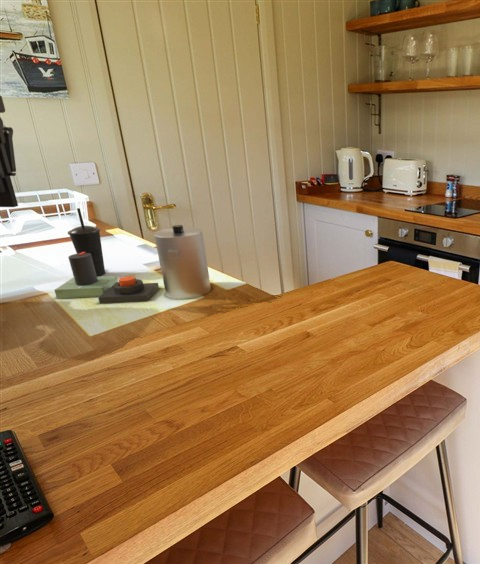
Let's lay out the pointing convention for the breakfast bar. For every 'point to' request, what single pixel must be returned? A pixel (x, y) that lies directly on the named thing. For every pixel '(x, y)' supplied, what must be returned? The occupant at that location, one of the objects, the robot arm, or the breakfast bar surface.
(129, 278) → the power switch
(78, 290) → the dial panel
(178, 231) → the metal canister
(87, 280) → the dial
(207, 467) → the breakfast bar surface
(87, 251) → the drinking cup
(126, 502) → the breakfast bar surface
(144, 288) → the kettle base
